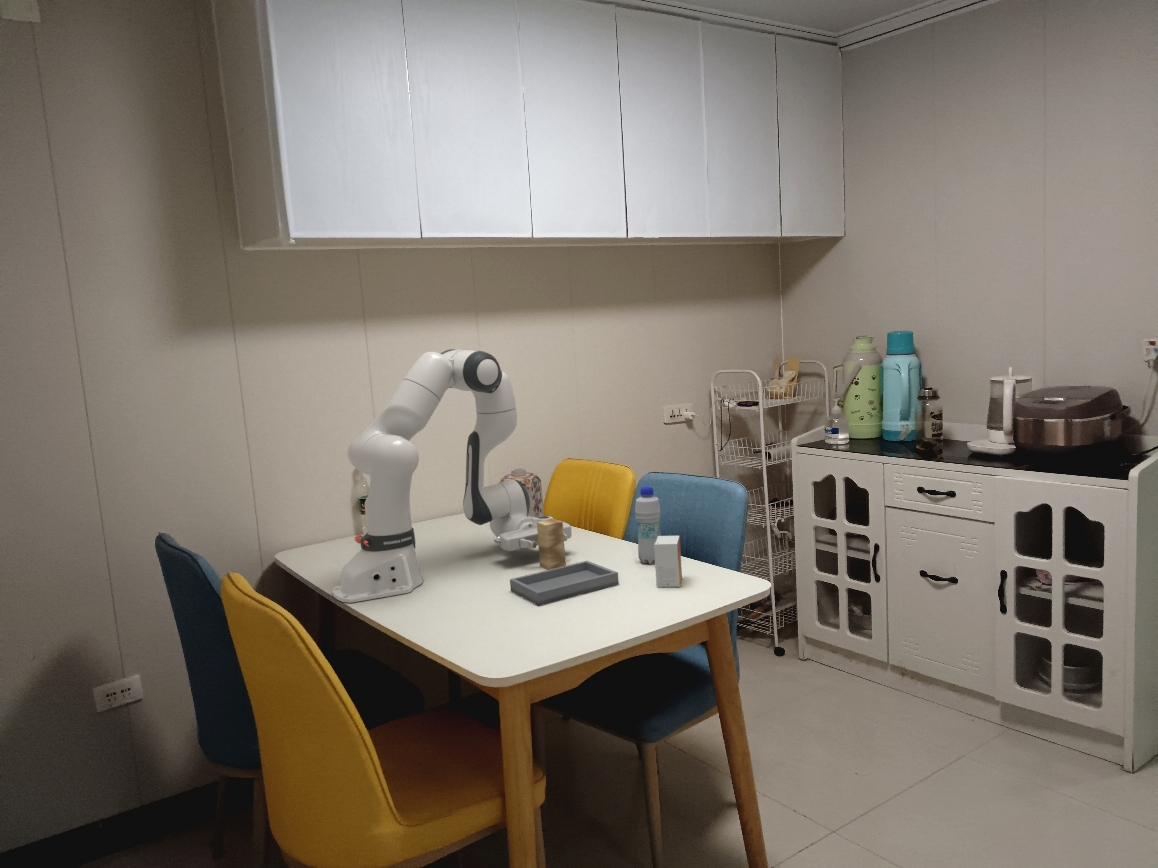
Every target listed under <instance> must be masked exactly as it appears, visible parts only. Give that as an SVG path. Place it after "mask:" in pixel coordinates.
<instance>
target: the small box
mask: <svg viewBox="0 0 1158 868" xmlns="http://www.w3.org/2000/svg"><path fill="white" fill-rule="evenodd" d="M654 552H655V560H654V567H655V569H654V570H655V580H656V581H655V582H656V587H657V588H677V587H679V588H680V587H681V583H682V580H683V572H682V571H683V570H682V569H683V567H682V554H681V552H682V551H681V536H680V535H661V536H657V540H656V542H655V544H654Z"/></svg>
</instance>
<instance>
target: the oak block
mask: <svg viewBox="0 0 1158 868" xmlns="http://www.w3.org/2000/svg"><path fill="white" fill-rule="evenodd" d="M563 522H564V521H562V520H559V521H558V519H555V518H553V519H550V520H545V521H540V522H537V532H538V545H537V546H538V555H539V567H541V568H544V569H545V568H546V569H545V570H547V569H548V570H550V569H554V568H559V567H563V566H567V563H566V561H567V560H566V549H565V541H564V533H563Z"/></svg>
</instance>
